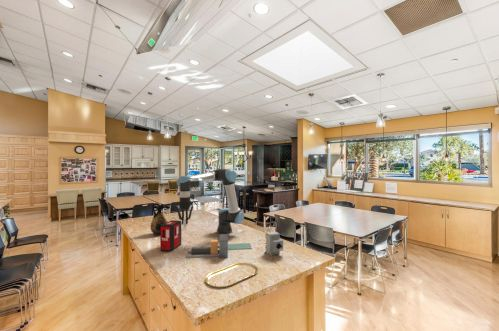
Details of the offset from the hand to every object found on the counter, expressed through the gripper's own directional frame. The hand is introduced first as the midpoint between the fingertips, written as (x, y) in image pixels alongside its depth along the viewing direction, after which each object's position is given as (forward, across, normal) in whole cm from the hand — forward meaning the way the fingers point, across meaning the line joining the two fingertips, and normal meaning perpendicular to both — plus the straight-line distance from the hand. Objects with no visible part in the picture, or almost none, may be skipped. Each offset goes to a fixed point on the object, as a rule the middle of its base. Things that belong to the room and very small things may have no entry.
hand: (184, 228), depth 168 cm
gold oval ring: (+20, +34, -34) cm, 52 cm away
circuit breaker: (+20, +66, -4) cm, 69 cm away
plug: (+19, +15, 0) cm, 25 cm away
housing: (+19, +17, 0) cm, 25 cm away
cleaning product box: (+20, -14, +16) cm, 29 cm away
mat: (+19, +40, +14) cm, 47 cm away
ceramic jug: (+20, -34, +54) cm, 67 cm away
